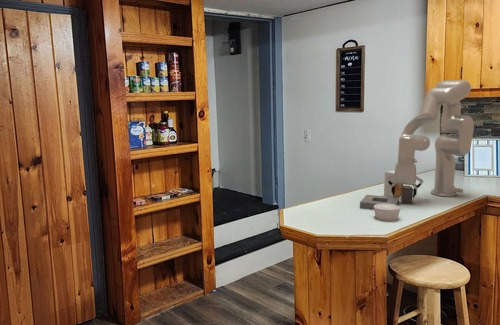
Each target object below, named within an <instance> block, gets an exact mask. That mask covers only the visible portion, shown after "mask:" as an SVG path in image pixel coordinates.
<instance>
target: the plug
mask: <svg viewBox="0 0 500 325" xmlns="http://www.w3.org/2000/svg"><path fill="white" fill-rule="evenodd" d="M413 189H414V187H413V186H412V185H405V184H403V186H401V196H400V203H401V205H410V206H411V205H413V201H414V200H413V198H414V197H413Z"/></svg>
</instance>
